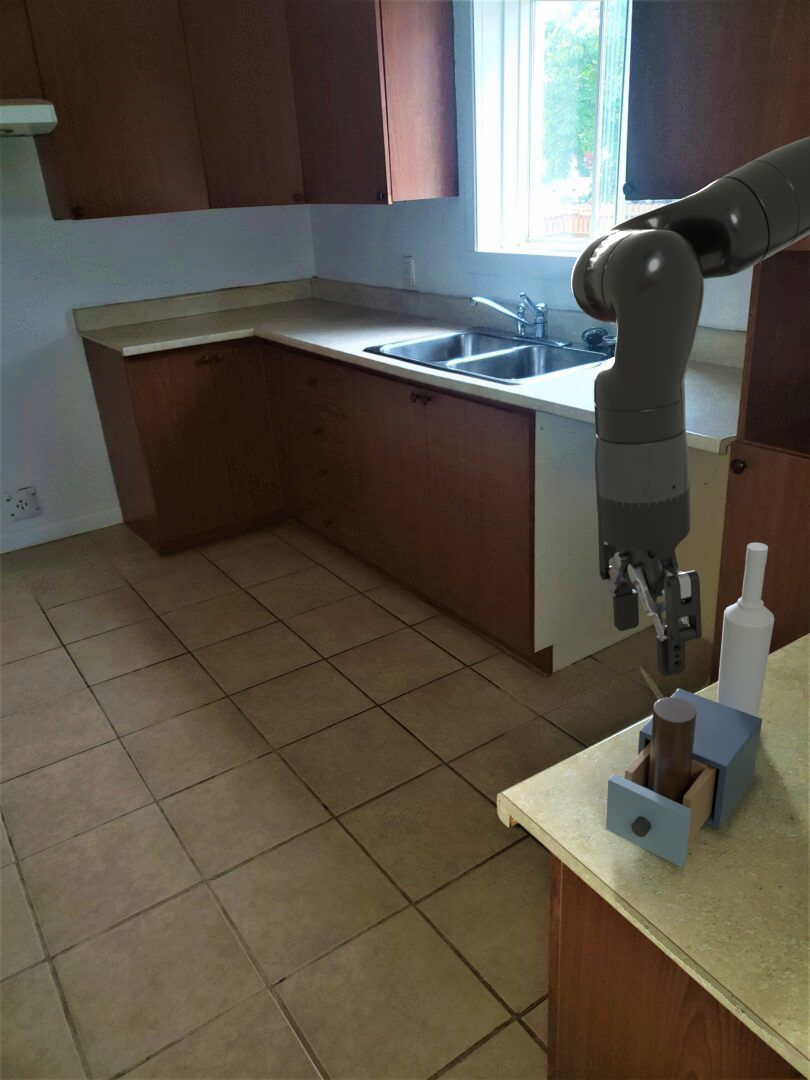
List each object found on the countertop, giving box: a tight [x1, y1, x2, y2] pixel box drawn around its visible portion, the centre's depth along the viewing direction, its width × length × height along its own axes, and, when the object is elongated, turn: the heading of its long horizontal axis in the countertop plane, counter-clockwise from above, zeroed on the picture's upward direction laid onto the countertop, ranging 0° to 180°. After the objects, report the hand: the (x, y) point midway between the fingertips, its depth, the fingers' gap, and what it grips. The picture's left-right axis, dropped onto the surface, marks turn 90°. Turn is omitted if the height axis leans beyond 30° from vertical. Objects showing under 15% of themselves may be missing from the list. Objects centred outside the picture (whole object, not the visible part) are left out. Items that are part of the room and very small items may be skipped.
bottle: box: [716, 542, 775, 718], centre depth 92 cm, size 5×5×25 cm
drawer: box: [605, 742, 716, 868], centre depth 83 cm, size 10×8×7 cm
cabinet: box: [637, 687, 763, 831], centre depth 89 cm, size 9×9×8 cm
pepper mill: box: [648, 696, 697, 805], centre depth 82 cm, size 4×4×13 cm
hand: (647, 648), depth 74 cm, fingers open, 8 cm apart
